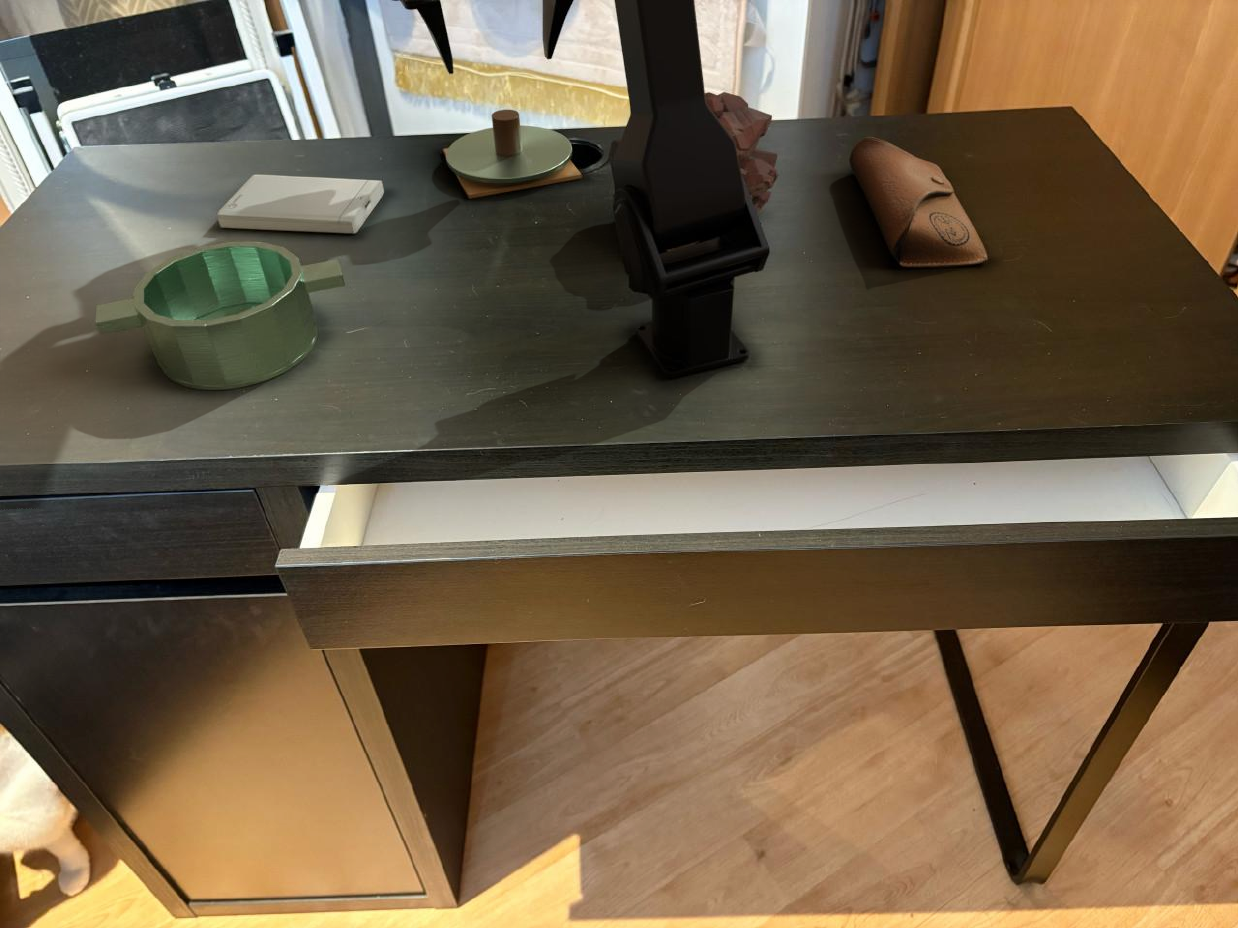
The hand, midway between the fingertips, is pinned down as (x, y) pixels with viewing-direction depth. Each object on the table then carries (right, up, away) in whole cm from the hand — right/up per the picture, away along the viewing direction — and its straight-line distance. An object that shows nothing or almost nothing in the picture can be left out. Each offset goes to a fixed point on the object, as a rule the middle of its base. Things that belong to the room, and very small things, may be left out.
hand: (499, 65), depth 87 cm
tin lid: (0, -6, +6) cm, 9 cm away
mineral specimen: (+18, -16, -4) cm, 25 cm away
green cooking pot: (-17, -27, -16) cm, 36 cm away
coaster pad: (0, -7, +6) cm, 10 cm away
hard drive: (-18, -14, 0) cm, 22 cm away
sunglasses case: (+37, -15, -3) cm, 40 cm away
